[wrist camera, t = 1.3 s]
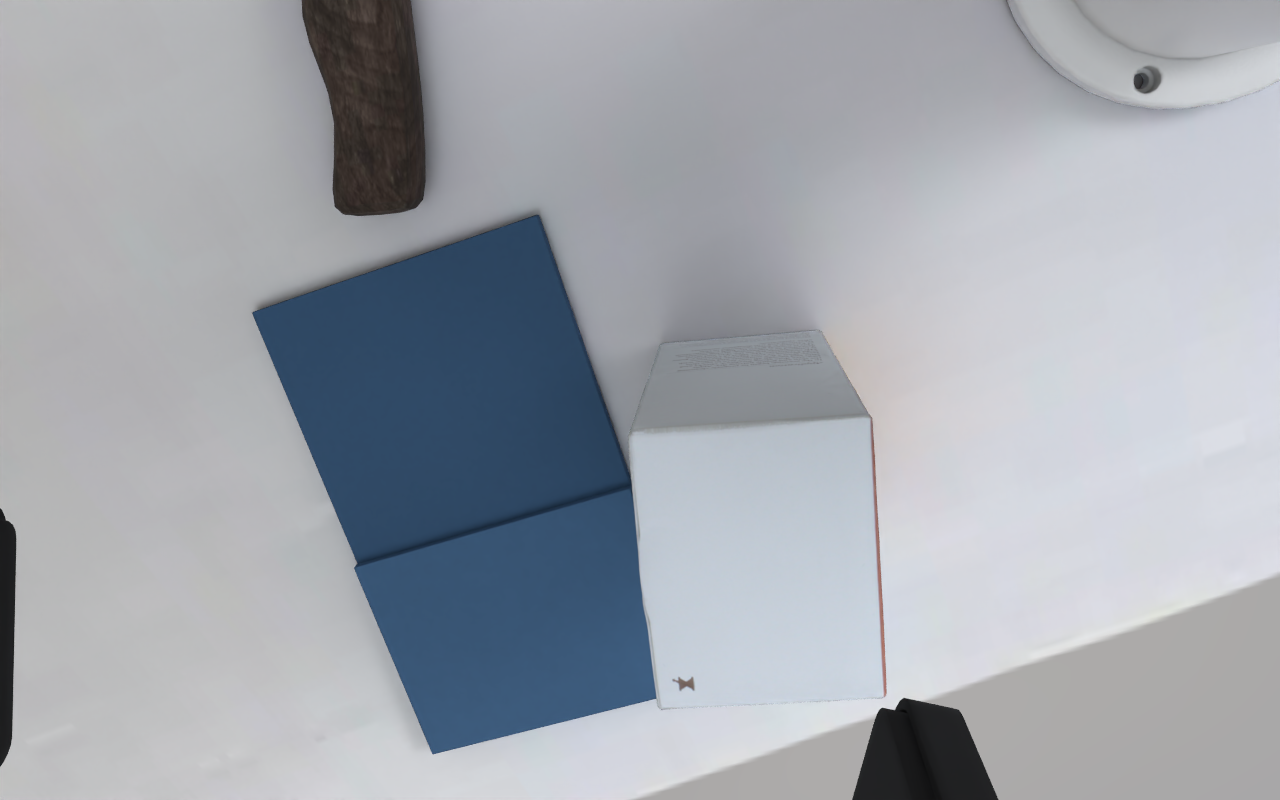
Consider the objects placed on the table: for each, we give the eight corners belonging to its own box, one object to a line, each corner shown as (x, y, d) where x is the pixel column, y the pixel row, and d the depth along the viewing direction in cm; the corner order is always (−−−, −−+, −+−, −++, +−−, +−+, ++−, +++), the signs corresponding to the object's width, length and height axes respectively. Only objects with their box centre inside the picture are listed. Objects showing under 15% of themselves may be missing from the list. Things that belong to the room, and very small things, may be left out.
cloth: (539, 214, 36) (534, 215, 35) (700, 676, 40) (699, 688, 39) (257, 310, 38) (246, 314, 37) (438, 742, 42) (432, 755, 41)
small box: (837, 525, 38) (890, 707, 26) (677, 536, 39) (652, 717, 26) (824, 323, 36) (875, 412, 24) (656, 338, 37) (619, 432, 24)
